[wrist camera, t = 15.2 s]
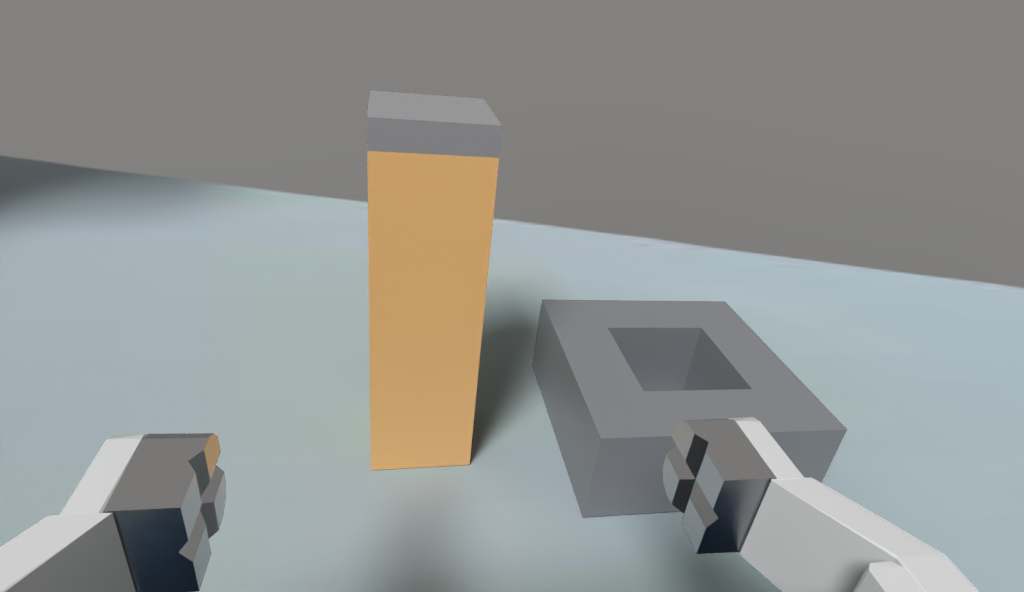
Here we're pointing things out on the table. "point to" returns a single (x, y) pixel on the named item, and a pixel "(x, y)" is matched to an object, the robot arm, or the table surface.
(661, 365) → the grey square block
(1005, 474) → the table surface
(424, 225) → the plug
